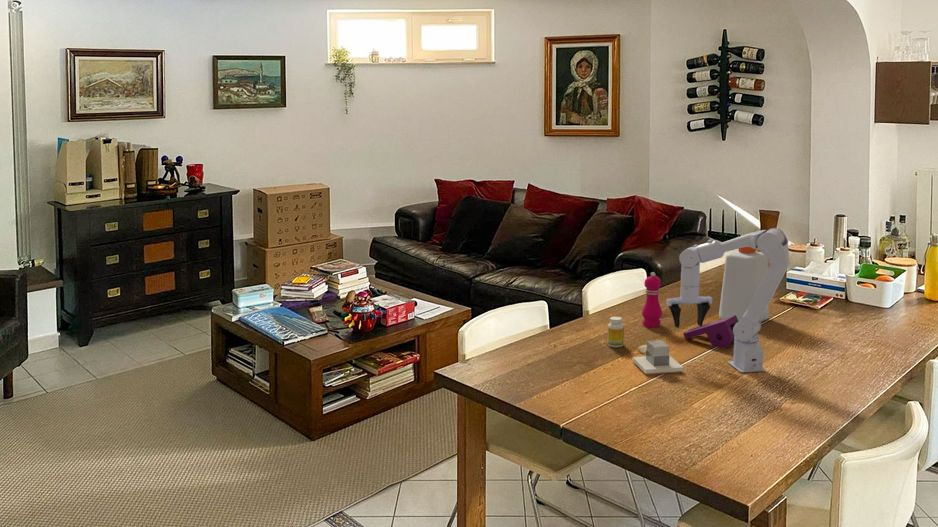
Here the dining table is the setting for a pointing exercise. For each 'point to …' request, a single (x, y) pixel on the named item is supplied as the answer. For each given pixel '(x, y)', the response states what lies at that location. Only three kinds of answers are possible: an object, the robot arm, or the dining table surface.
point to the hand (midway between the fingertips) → (688, 326)
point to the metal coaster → (642, 349)
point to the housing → (657, 353)
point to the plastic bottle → (742, 281)
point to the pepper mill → (652, 302)
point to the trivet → (650, 369)
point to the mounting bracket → (716, 331)
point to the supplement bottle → (615, 332)
